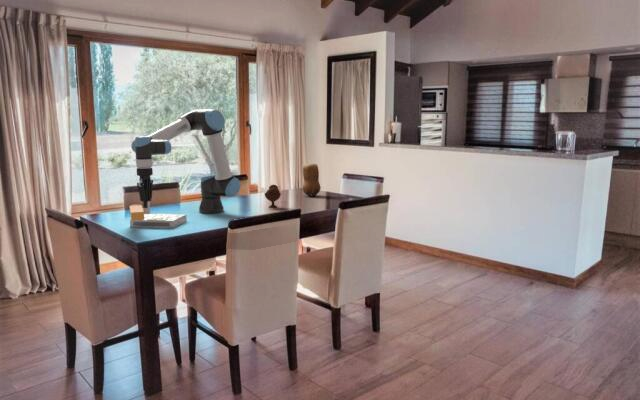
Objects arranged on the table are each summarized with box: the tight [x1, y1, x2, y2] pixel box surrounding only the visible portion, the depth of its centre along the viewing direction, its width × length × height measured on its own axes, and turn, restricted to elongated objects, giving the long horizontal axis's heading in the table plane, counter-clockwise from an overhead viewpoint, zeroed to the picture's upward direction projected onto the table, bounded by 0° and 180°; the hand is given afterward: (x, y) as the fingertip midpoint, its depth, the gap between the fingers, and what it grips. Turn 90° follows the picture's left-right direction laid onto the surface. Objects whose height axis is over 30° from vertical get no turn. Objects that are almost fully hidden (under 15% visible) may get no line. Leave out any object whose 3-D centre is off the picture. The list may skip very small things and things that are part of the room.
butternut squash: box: [302, 163, 322, 197], centre depth 366 cm, size 14×13×25 cm
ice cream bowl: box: [264, 184, 282, 209], centre depth 318 cm, size 11×11×15 cm
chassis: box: [129, 213, 188, 229], centre depth 266 cm, size 18×24×7 cm
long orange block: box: [129, 204, 144, 221], centre depth 251 cm, size 6×24×4 cm, turn 23°
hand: (147, 213), depth 246 cm, fingers closed
